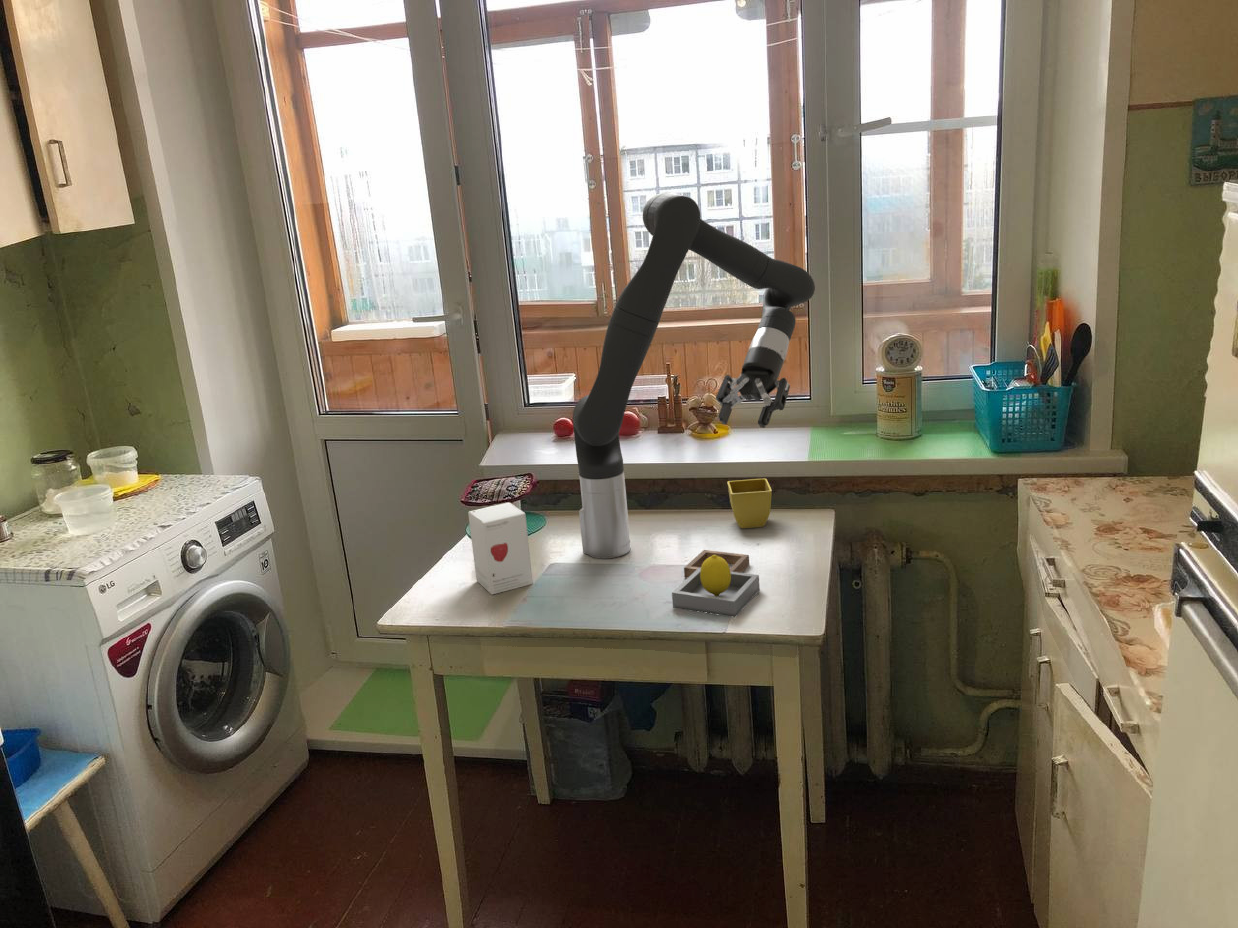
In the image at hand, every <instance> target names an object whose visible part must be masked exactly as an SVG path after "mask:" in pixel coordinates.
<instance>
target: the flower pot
mask: <svg viewBox="0 0 1238 928" xmlns="http://www.w3.org/2000/svg"><path fill="white" fill-rule="evenodd" d="M727 489H728V495H729V503H730V506H731V509H732V512H733V517H734V519H735V521H736V523H737V525H738V527H739V528H740V529H749V528H750V529H751V528H762V527H765V524H767V522H768V520H769V516H770V513H771V508H772V507H771V506H772V496H773V495H772V493H773V492H772V491H773V490H772V487H771V485H770V483H769V482H768V479H767V478H751V479H742V480H741V479H740V480H728V481H727Z"/></svg>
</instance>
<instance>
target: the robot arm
mask: <svg viewBox="0 0 1238 928" xmlns="http://www.w3.org/2000/svg"><path fill="white" fill-rule="evenodd" d="M642 222H643V225H644V228H645V229H646V231H647V232H648V233H649V234H650V235H651V236H652V238H651V240H650V243H649V246H648V248H647V249H648V250H647V253H646V255H645V257H644V260H643V262H642V264H641V265H640V267H639V268H638V270H637V271H636V273H635V274H634V275H633V277H631V279H630V281H628V283H627V284H626V286H625V287H624V288H623V290H622V292H621V293H620V295H619V297H618V299H617V301H616V303H615V306H614V308H613V310H612V313H611V316H610V319H609V322H608V326H607V327H606V332H605V337H604V342H603V346H602V351H601V357H600V365H599V368H598V372H597V375H596V378H595V381H594V383H593V385H592V387H591V390H590V392H589V394H587V395H585V396H583V397H581V398H580V399H579V400H578V401H577V402H576V404H575V406H574V408H573V411H572V427H573V436H574V444H575V453H576V461H577V467H578V475H579V483H580V485H579V486H580V493H581V494H580V496H581V504H582V505H581V507H582V508H580V509H579V511H578V515H579V516H578V517H579V525H580V535H581V537H580V538H581V545H582V553H583V554H586V555H588V556H590V557H592V558H595V559H613V558H618V557H621V556H625V555H626V554H627V553H629V552H630V551H631V538H630V528H629V527H630V526H629V515H628V513H629V512H628V503H627V492H626V491H627V490H626V489H627V488H626V482H625V481H626V479H625V469H624V468H625V467H624V458H623V454H622V449H621V444H620V442H621V441H620V431H621V428H622V426H623V421H624V416H625V412H626V408H627V405H628V401H629V397H630V394H631V391H632V387H633V385H634V382H635V380H636V378H637V376H638V374H639V372H640V370H641V367H642V365H643V364H644V360H645V358H646V356H647V355H648V352H649V349H650V346H651V344H652V342H653V340H654V337H655V334H656V332H657V329H658V326H659V324H660V321H661V318H662V315H663V313H664V309H665V306H666V304H667V301H668V299H669V296H670V294H671V291H672V288H673V287H674V286H673V285H674V282H675V280H676V277H677V275H678V272H679V270H680V268H681V266H682V264H683V262H684V260H685V257H686V256H687V254H688V252H689V250H690V251H691V252H693V253H695V254H697V255H699V256H701V257H702V258H704V259H705V260H707V261H709V262H710V263H712V264H713V265H715V266H716V267H718V268H719V269H722V270H723V271H724V272H725V273H727V274H729V275H730V276H732V277H734V278H736V280H739V281H741V282H742V283H744V284H746V285H747V286H749V287H751V288H753V289H755V290H764V293H763V301H762V302H763V303H762V316H761V318H760V321H759V323H758V324H759V325H758V327H757V329H756V333H755V335H753V338H752V339H751V342H750V345H749V348H748V350H747V353H746V355H745V359H744V361H743V364H742V367H741V374H740V375H738V377H736V378H735V377H731V375H730V374H727V375H724V377H723V380H722V383H721V385H720V387H719V389H718V391H717V394H716V396H715V399H716V401H717V402H718V404H719V405H720V406H721V408H720V411H719V413H718V419H719V422H721V424H722V425H728V422H729V419H730V416H731V414H732V411H733V408H734V407H735V406H736V405H737V404H741V403H742V402H744V401H745V400H746V401H752V400H754V401H756V402H760V401H761V400H762V401H763V403H764V406H762V409H761V410H760V411H761V412H760V414H759V417H758V420H757V425H758V426H759V427H760V428H763V429H764V428H766V426H768V425H769V423H770V421H771V418H772V415H773V413H775V411H777V410H779V411H783V410H784V409H785V407H786V403H787V398H788V395H789V391H790V388H791V385H790V383H789V382H788V380H787V379H786V378H785V377H781V378H780V380H778V379H779V377H780V374H781V371H782V368H783V366H784V362H785V361H786V357H787V354H788V349H789V345H790V341H791V338H792V335H793V334H794V330H795V326H796V316H795V314H794V313H793V312H792V311H790V310H791V308H793V307H796V306H798V305H802V304H803V303H806V302H808V301H809V300H810V299H812V297H813V296H814V294H815V290H816V285H815V281H814V279H813V277H812V276H811V274H810V273H809V272H808V271H806V270H805V269H804V268H802V267H800V266H798V265H795V264H792V263H789V262H787V261H784V260H779V259H775V258H772V257H770V256H769V255H768V254H766V253H764V252H763V251H761V250H759V249H758V248H756V247H754V246H752V245H751V244H749V243H747V242H745V241H743V240H741V239H739V238H737V237H735V236H733V235H731V234H729V233H726V232H724V231H722V230H721V229H718V228H716V227H714V226H713V225H711V224H710V223H708V222H706V221H705V220H703V219H702V218H701V210H700V208H699V205H698V203H697V202H696V201H695V200H694V199H693V198H692V197H689V196H687V195H685V194H679V193H674V192H668V191H667V192H660V193H658V194H657V193H656V194H655V195H653V196H651V197H650V198H649V199H648V200H647V201H646V202H645V205H644V206H643V211H642ZM776 389H777V391H776V394H775V398H774V400H772V398H771V395H770V394H771V393H772V392H773V391H774V390H776ZM739 393H740V395H739Z"/></svg>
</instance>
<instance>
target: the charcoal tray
mask: <svg viewBox="0 0 1238 928" xmlns="http://www.w3.org/2000/svg"><path fill="white" fill-rule="evenodd" d="M700 571H701V568H698V569H697V570H696V571H695V572H694V573H693V574H692V575H690V576H689V577H688V578H686V579H685V580H684V581H683V582H681V584H679V585H678V587H676V588H675V589H674V590H673V591H672V592H671V597H672V608H673V609H677V610H678V609H679V610H684V611H690V610H692V611H691V612H697V611H699V612H698V613H704V612H707V613H706V614H710V613H712V615H717V614H718V615H717V616H724V617H732V618H736V617H737V616H738V615H739V614H740V612H742V611H743V609H744V608H745V607H746V606H747V605H748V604H749V603H750V601H751V600H752V599H753V598H754V597H755V596H756V595H757V593H758V592H760V575H759V574H753V573H745V572H741V573H739V572H731V571H730V572H731V581H730V585H729V587H728V588H727V589H726V590H725V591H724V592H723V593H720V594H719V596H715V595H714V594H712V593H709V592H708V591H706V590H705V589H704V587H703V585H702V583H701V579H700Z"/></svg>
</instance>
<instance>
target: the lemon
mask: <svg viewBox="0 0 1238 928" xmlns="http://www.w3.org/2000/svg"><path fill="white" fill-rule="evenodd" d="M729 565H730V564H728V563H727V562H726V561H725V560H724V559H723V558H721V557H719V556H716V555H712V556H711V557H709V558H707V559H706V560H705V561H704V562H703V564H702V566H701V571H700V579H701V583H702V585H703V587H704V589H705V590H706V591H708V592H709V593H712V594H714V595H715V596H719V594H720V593H723V592H724V591H725V590H726V589H727V588H728V587H729V585H730V581H731V572H730V568H731V567H730V566H729Z"/></svg>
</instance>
